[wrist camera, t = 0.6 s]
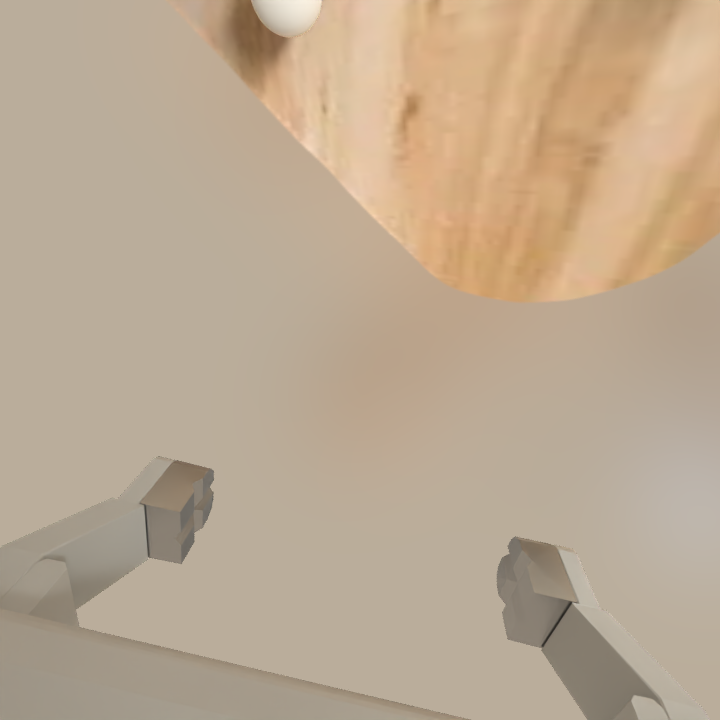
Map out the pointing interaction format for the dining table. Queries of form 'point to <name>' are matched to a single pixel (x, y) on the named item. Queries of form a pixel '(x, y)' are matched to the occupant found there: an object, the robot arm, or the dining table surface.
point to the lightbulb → (288, 15)
